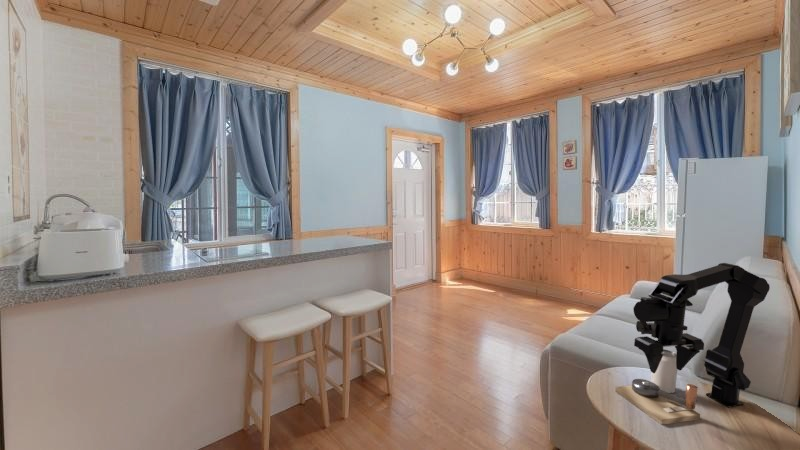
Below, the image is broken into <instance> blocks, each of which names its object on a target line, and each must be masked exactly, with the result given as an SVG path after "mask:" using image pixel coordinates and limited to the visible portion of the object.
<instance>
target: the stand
mask: <svg viewBox="0 0 800 450" xmlns="http://www.w3.org/2000/svg"><path fill="white" fill-rule="evenodd" d="M614 390H615V391H614V392H615V393H617V394H618V395H619V396H621V397H622V398H623V399H625V400H627V401H628V402H629V403H631V404H632V405H633V406H635V407H636V408H637V409H639V410H640V411H642V412H643V413H645V415H647V416H648V417H650V418H652V419H653V420H654V421H655V422H657V423H658V424H660V425H669V424H675V423H676V424H677V423H683V422H690V421H696V420H697V421H698V420H700V418H701V414H700V413H699V412H698V411H696V410H695V409H689V408H687V407H685V406H684V405H681V404H679V403H677V402H674V401H672V400H669V399H667V398H664V397H662V396H659V397H656V398H650V397H645V396H642V395H640V394H638V393H636V392H635V391H634V390H633V389H632V384H630V385H621V386H615V389H614Z"/></svg>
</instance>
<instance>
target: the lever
mask: <svg viewBox="0 0 800 450" xmlns="http://www.w3.org/2000/svg"><path fill="white" fill-rule="evenodd" d="M631 382H632V383H631V385H632V389H633V390H634V391H635V392H636V393H638V394H640V395H642V396H645V397H650V398H656V397H659V396H662V397H664V398H667V399H669V400H672V401H674V402H677V403H679V404H681V405H684V406H685V407H687V408H689V409H693V410H695V409H696V404H697V395H698V387H697V385H694V384H692V383H687V384H686V387H685V394H684V395H685V396H684V397H685V398H682V397H680V396H677V395H675V394H673V393H667V392H665V391H662V390H660V388H659V386H657V385H656V384H655V383H653V382H651V380H647V379H644V378H643V379H642V378H634V379H632V381H631Z"/></svg>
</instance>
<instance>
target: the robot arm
mask: <svg viewBox="0 0 800 450" xmlns="http://www.w3.org/2000/svg"><path fill="white" fill-rule="evenodd" d="M722 283H726V284H727V293H728V297H729V298H730V305H729V308H728V312H727V315H726V318H725V322H724V324H723V325H724V326H723V328H722V331H721V333H720V334H721V335H720V339H719V342H718V345H717V346H716V347H714V348H712V349H710V348H708V349H707V350H706V353H705V357H704V358H703V362H704V364H703V365H704V367H705V371H706V375H707V376H709V377H712V378H713V379H712V385H711V391H710V392H706V393H705V395H706V396H707V397H708V398H711V399H712V400H714V401H715V402H718V403H720V404H721V405H723V406H725V407H727V408H733V407H739V406H740V407H741V406H744V405H745V403H744V402H743V401H741V400H739V399H740V393H741V392H740V391H746V390H747V389H749V387H750V386H751V384H752V382H751V380H750V379H749V377H748V376H747V375H746V374H745V372H744V369H745V362H744V360H743V357H742V354H741V351H742V347H743V344H744V341H745V337H746V334H747V331H748V328H749V324H750V323H751V317H752V315H753V311H754V308H755V307H756V306H758V305H759V304H760V303H762V302H763V301H765V299H766V297H767V296H768V293H769V291H770V283H768V281H767V280H766V279H765V277H760V276H758V275H756V274H754V273H752V272H749V271H748V270H746V269H744V268H743V267H741V266H740V265H738V264H737V265H736V264H733V263H727V262H722V263H718V265H715V266H714V265H713V266H710V267H709V268H708V267H707V268H705V269H702V270H698V271H695V272H691V273H688V274H668V275H664V276H661V278H660V279H659V281H658V282H657V283H656V284H655V286H654V287H653V288H652V289H651V291H650V293H649V294H648V297H645V296H643V297H642V296H641V297H640V301H637V302H636V303H635V304H634V306H633V309H632V310H633V314H634V317H635V318H636V319H637V321H636V324H635V329H636V331H637V332H638V333H641V335H651V337H649V336H638V337H635V338H634V344H633V346H634V347H636V348H637V349H638V350H640V351H642V352H643V353H644V355H645V358H646V360H647V364H648V367H649V370H650V373H655V372H656V370H657V368H658V366H659V364H660V361H661V359H662V357H663V354H661V353H662V352H663V349H664V348H667V347H670V348H671V347H674V348H675V350H676V354H677V356H676V368H677V371H683V369H684V368H685V366H687V364H688V363H689V362H690V361H691V360H692V359H693V358H694V357H695V356H696V355H698V354H699V353H700V352H701V351H704V349H705V343H704V341H703V340H702V339H701V338H699V337H697V336H694V335H691V334H689V333H687V332H684V331H687V330H688V326H687V325H685V318H686V308H687V307H692V306H693V305H694V304H693V303H692V302H691V301H690V300H689V299H691V298H692V297H694V296H696V295H697V293H698V291H700V290H702V289H706V288H709V287H712V286H715V285H718V284H722ZM655 339H657V340H655Z"/></svg>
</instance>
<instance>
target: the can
mask: <svg viewBox="0 0 800 450" xmlns="http://www.w3.org/2000/svg"><path fill="white" fill-rule="evenodd" d="M661 354H663V357H662V359H661V361H660V364H659V366H658V368H657V370H656V372H655V373H652V372H650V373H651V375H650V376H651V377H650V382H653V383H655V384H656V385H657V386H659V388H660V390H662V391H665V392H667V393H670V394H673V393H674V392H676V387H677V378H678V377H677V376H678V369H677V368H676V356H677V352H676V353H675V352H673V351H671V350H668V349H664V348H663V352H662V353H661Z"/></svg>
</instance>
